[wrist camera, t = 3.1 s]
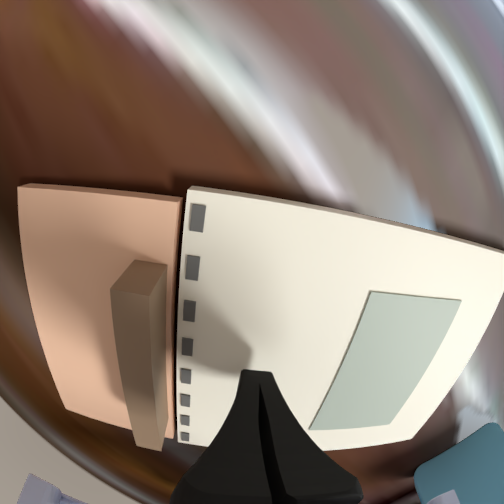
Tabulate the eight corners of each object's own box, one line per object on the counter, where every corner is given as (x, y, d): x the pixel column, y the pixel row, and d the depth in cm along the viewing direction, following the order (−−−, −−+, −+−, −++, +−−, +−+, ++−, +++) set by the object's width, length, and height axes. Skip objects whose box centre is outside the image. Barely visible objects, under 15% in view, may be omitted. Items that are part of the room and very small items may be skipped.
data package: (411, 478, 24) (435, 547, 12) (410, 469, 22) (437, 546, 11) (489, 430, 22) (522, 492, 11) (494, 416, 20) (533, 483, 9)
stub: (175, 427, 16) (167, 469, 13) (70, 399, 16) (52, 433, 13) (183, 197, 11) (158, 220, 8) (30, 183, 11) (-19, 199, 7)
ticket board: (407, 430, 18) (411, 439, 17) (180, 430, 17) (177, 443, 16) (506, 251, 12) (517, 258, 11) (192, 185, 11) (187, 189, 10)
